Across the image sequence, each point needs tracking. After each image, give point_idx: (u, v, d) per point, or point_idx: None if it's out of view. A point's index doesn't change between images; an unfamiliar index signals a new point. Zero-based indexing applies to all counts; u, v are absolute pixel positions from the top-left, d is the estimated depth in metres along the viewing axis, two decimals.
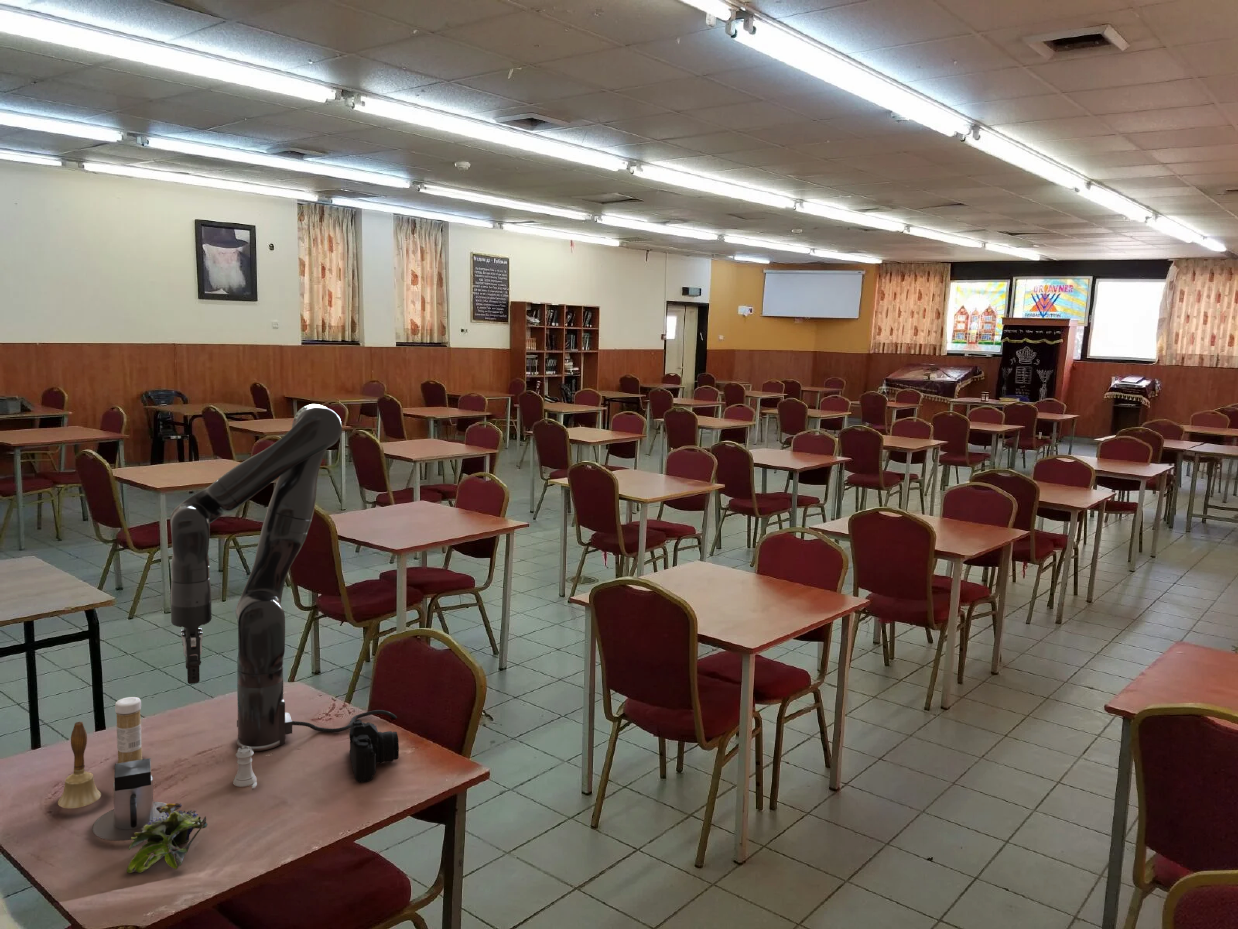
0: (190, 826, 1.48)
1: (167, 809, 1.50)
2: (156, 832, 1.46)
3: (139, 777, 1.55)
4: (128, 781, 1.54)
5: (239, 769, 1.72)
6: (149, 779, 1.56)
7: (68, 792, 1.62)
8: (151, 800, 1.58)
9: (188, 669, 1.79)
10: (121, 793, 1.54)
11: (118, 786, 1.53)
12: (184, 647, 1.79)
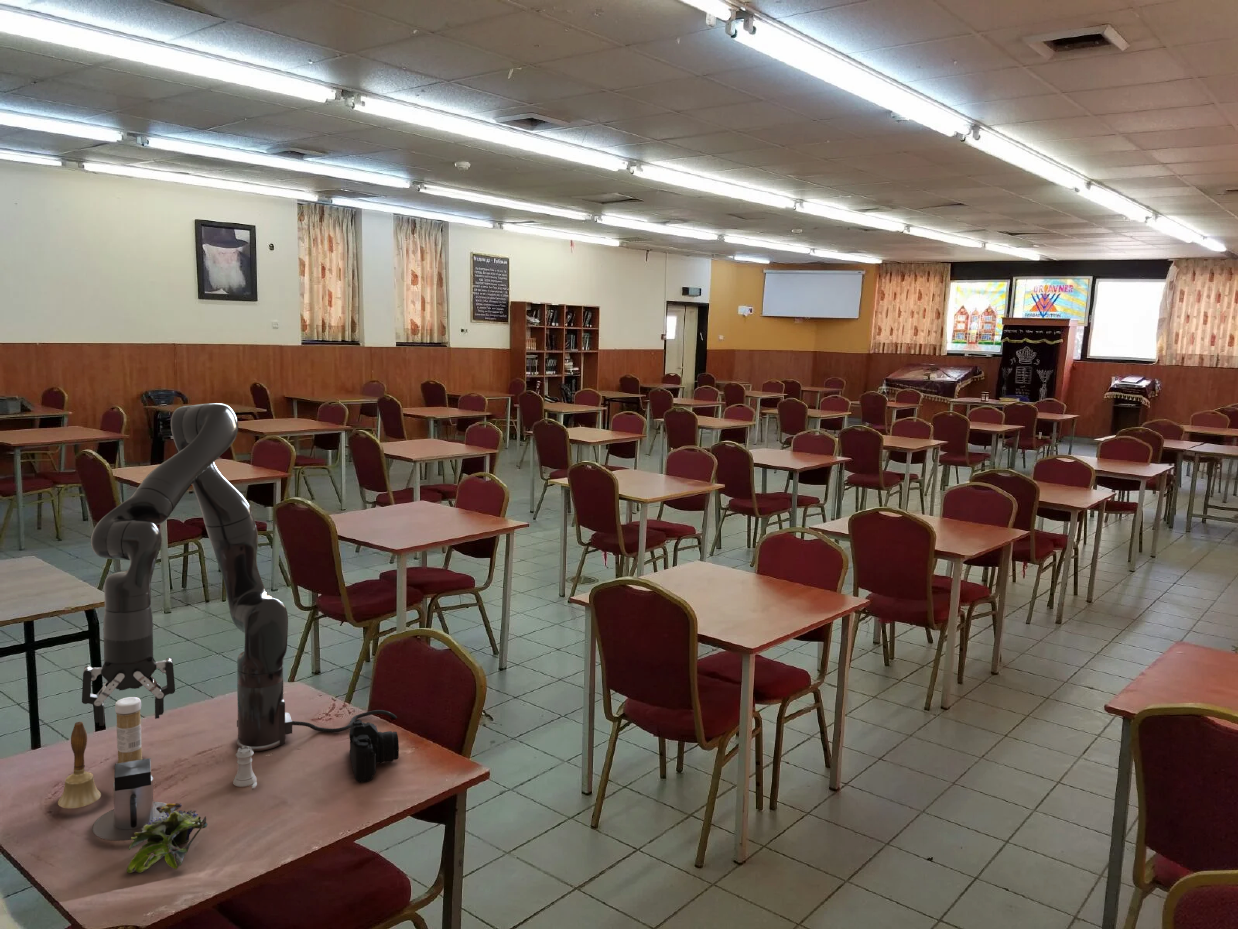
0: (190, 826, 1.48)
1: (167, 809, 1.50)
2: (156, 832, 1.46)
3: (139, 777, 1.55)
4: (128, 781, 1.54)
5: (239, 769, 1.72)
6: (149, 779, 1.56)
7: (68, 792, 1.62)
8: (151, 800, 1.58)
9: None
10: (121, 793, 1.54)
11: (118, 786, 1.53)
12: None
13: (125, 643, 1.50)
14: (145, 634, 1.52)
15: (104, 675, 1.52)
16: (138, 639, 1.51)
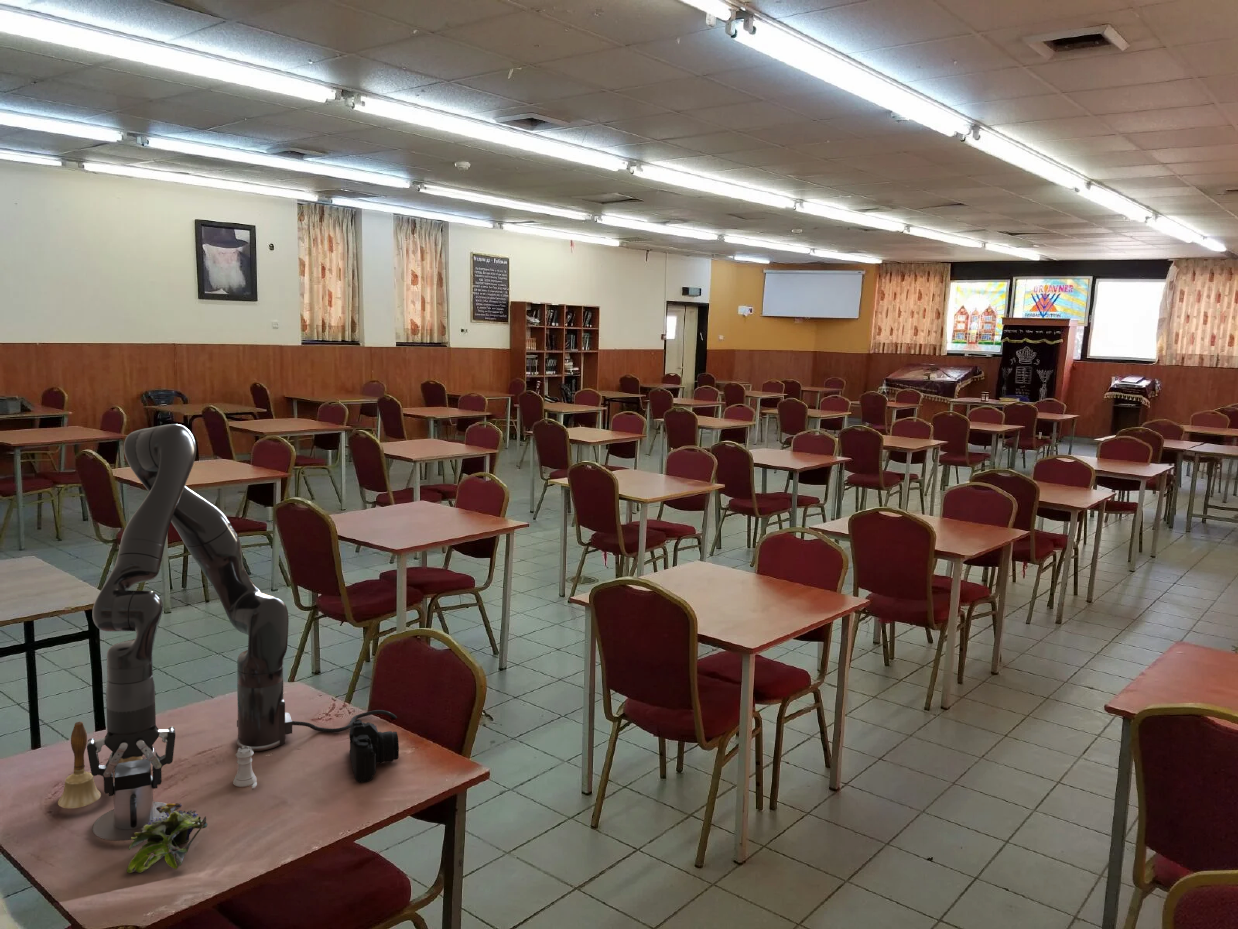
0: (190, 826, 1.48)
1: (167, 809, 1.50)
2: (156, 832, 1.46)
3: (139, 777, 1.55)
4: (128, 781, 1.54)
5: (239, 769, 1.72)
6: (149, 779, 1.56)
7: (68, 792, 1.62)
8: (151, 800, 1.58)
9: None
10: (121, 793, 1.54)
11: (118, 786, 1.53)
12: None
13: (128, 714, 1.52)
14: (147, 704, 1.54)
15: (107, 745, 1.53)
16: (141, 709, 1.53)
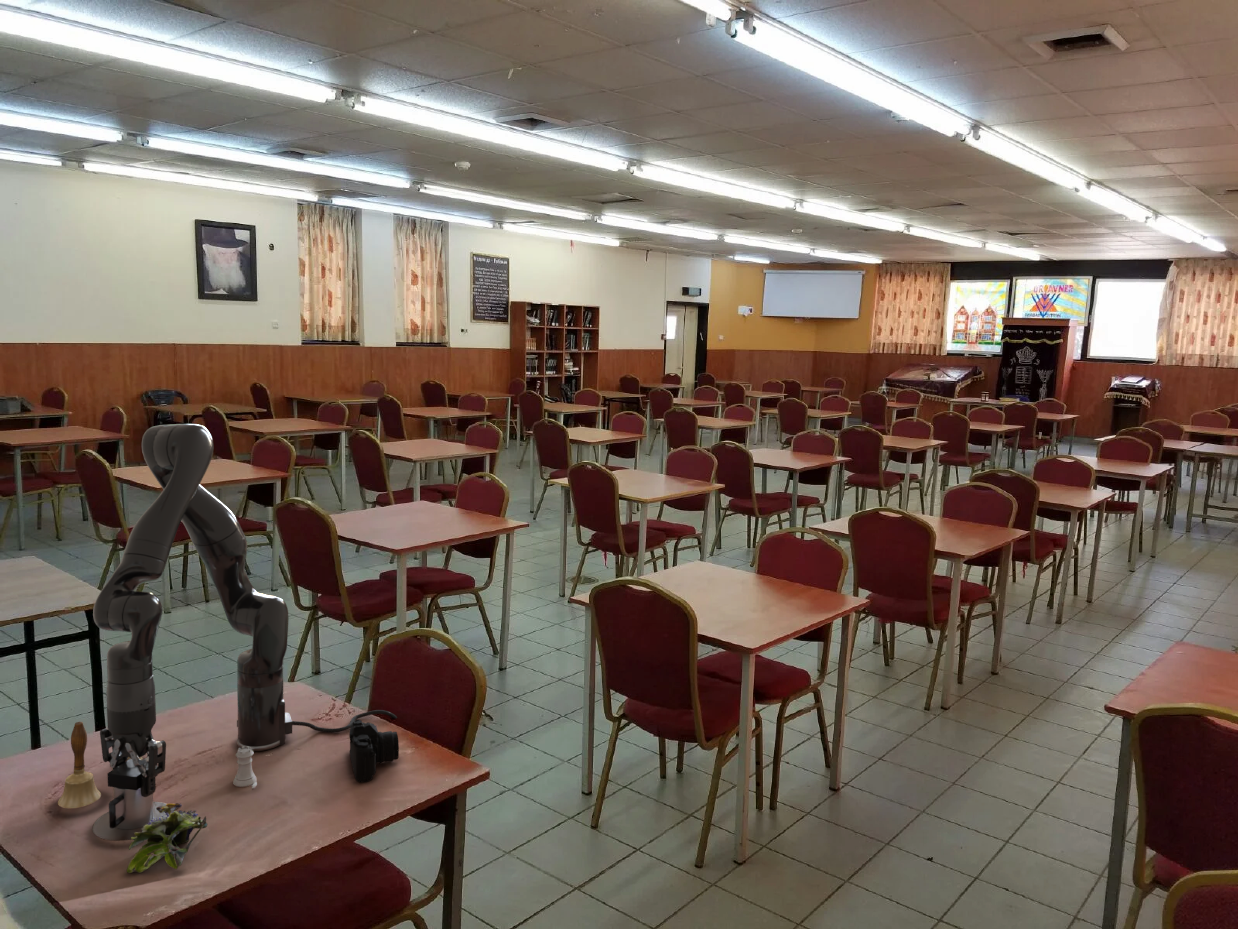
0: (190, 826, 1.48)
1: (167, 809, 1.50)
2: (156, 832, 1.46)
3: (127, 779, 1.54)
4: (118, 780, 1.54)
5: (239, 769, 1.72)
6: (135, 784, 1.54)
7: (68, 792, 1.62)
8: (143, 805, 1.56)
9: None
10: (114, 790, 1.55)
11: (110, 782, 1.55)
12: None
13: (110, 713, 1.52)
14: (128, 709, 1.52)
15: (112, 737, 1.57)
16: (120, 712, 1.51)
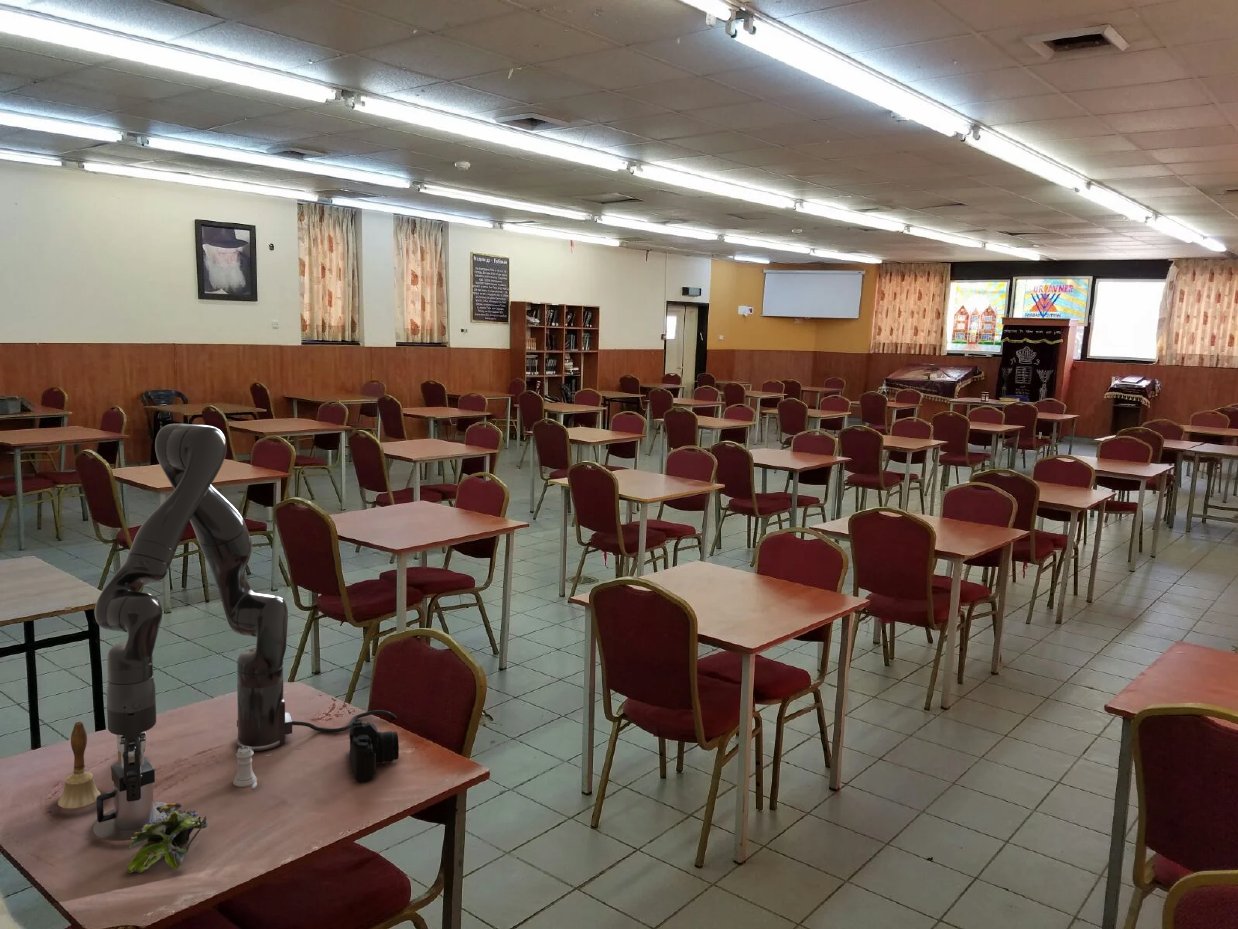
0: (190, 826, 1.48)
1: (167, 809, 1.50)
2: (156, 832, 1.46)
3: (116, 778, 1.54)
4: (114, 776, 1.55)
5: (239, 769, 1.72)
6: (119, 785, 1.53)
7: (68, 792, 1.62)
8: (130, 809, 1.55)
9: None
10: None
11: (112, 776, 1.57)
12: None
13: None
14: (113, 709, 1.52)
15: None
16: (108, 710, 1.52)
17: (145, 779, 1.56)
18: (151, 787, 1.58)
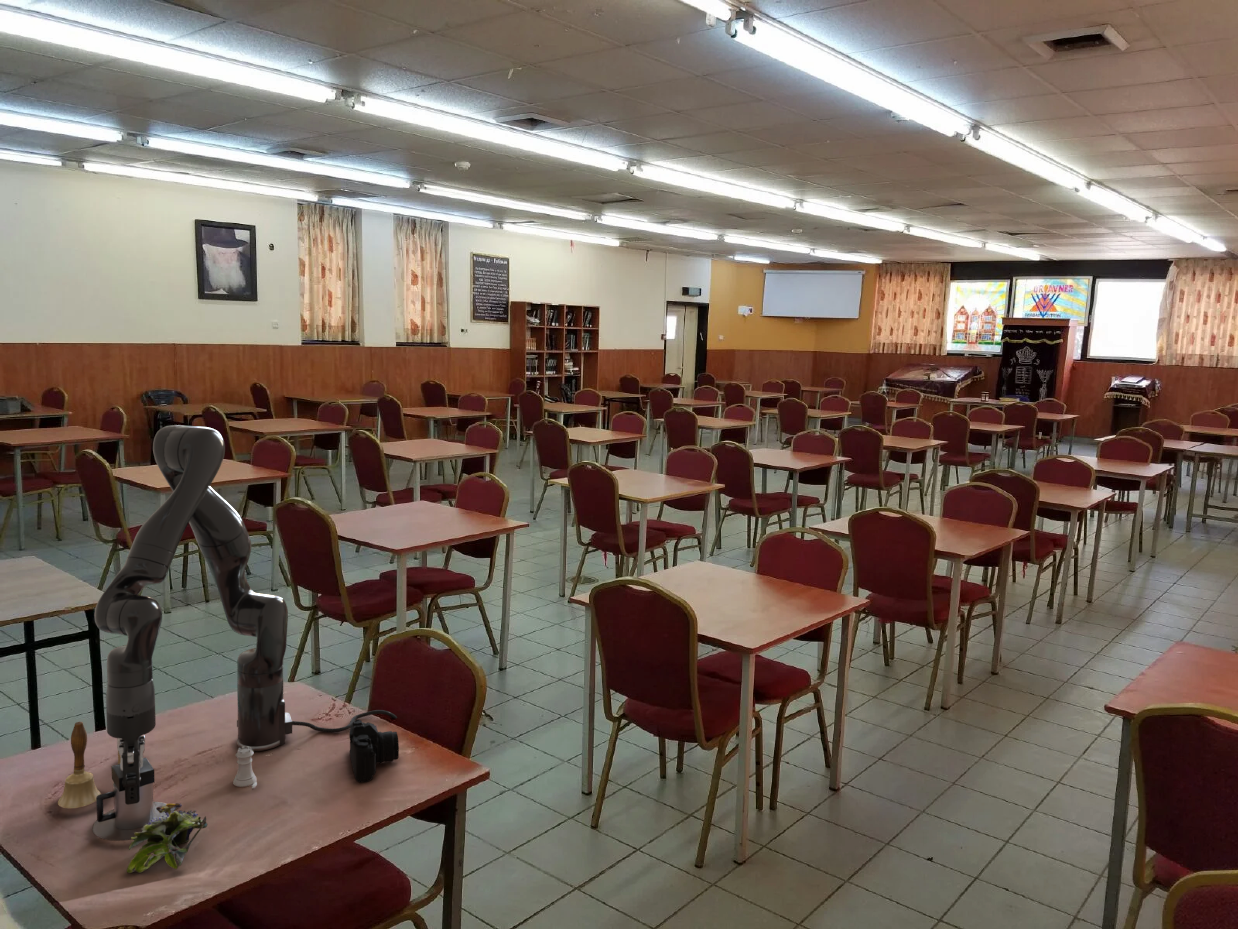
0: (190, 826, 1.48)
1: (167, 809, 1.50)
2: (156, 832, 1.46)
3: (116, 778, 1.54)
4: (114, 776, 1.55)
5: (239, 769, 1.72)
6: (118, 785, 1.53)
7: (68, 792, 1.62)
8: (129, 809, 1.55)
9: None
10: None
11: (112, 776, 1.57)
12: None
13: (106, 711, 1.54)
14: (112, 712, 1.52)
15: None
16: (108, 713, 1.52)
17: (144, 780, 1.56)
18: (151, 787, 1.58)
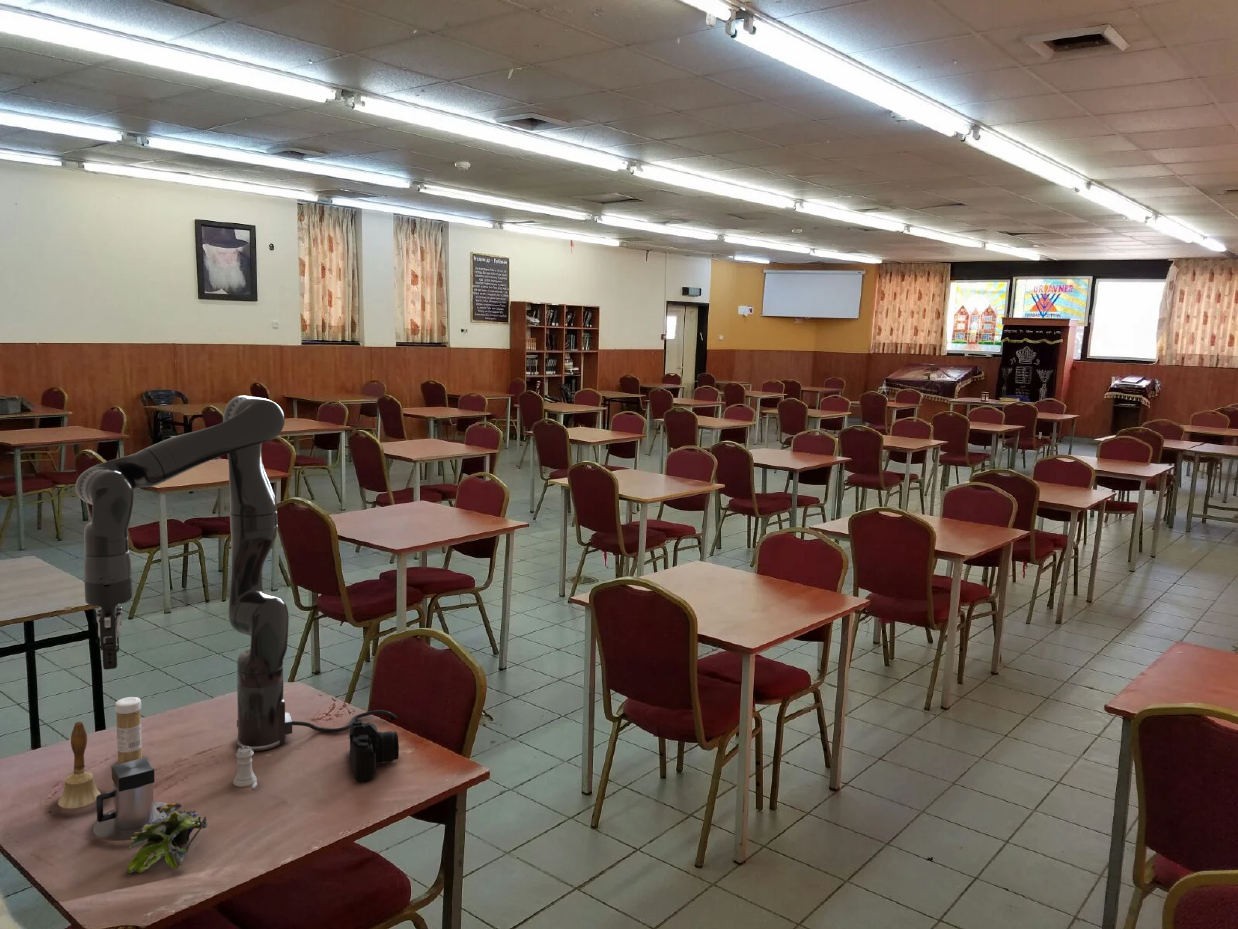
0: (190, 826, 1.48)
1: (167, 809, 1.50)
2: (156, 832, 1.46)
3: (116, 778, 1.54)
4: (114, 776, 1.55)
5: (239, 769, 1.72)
6: (118, 785, 1.53)
7: (68, 792, 1.62)
8: (129, 809, 1.55)
9: None
10: None
11: (112, 776, 1.57)
12: None
13: None
14: (90, 580, 1.58)
15: None
16: (86, 582, 1.59)
17: (144, 780, 1.56)
18: (151, 787, 1.58)
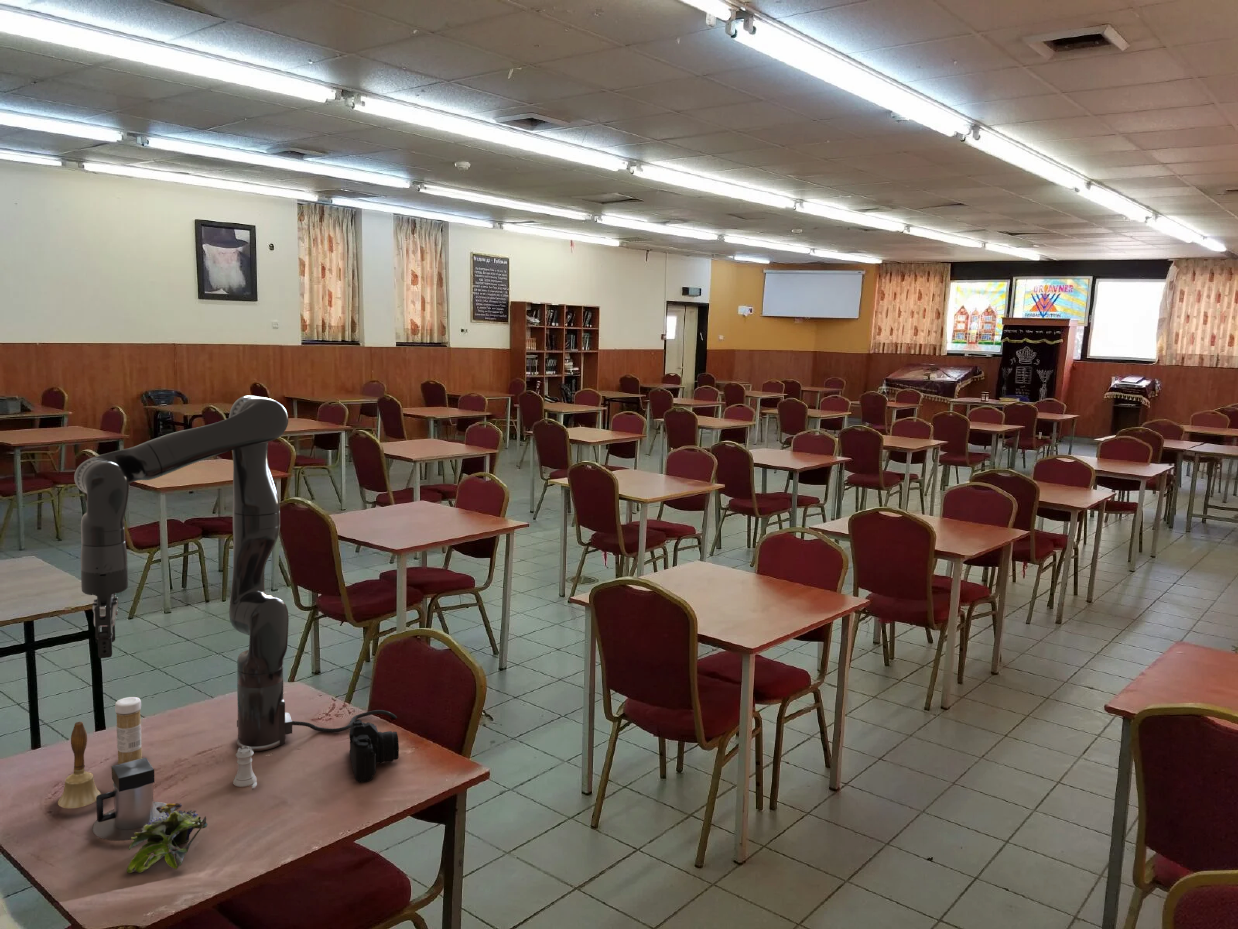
0: (190, 826, 1.48)
1: (167, 809, 1.50)
2: (156, 832, 1.46)
3: (116, 778, 1.54)
4: (114, 776, 1.55)
5: (239, 769, 1.72)
6: (118, 785, 1.53)
7: (68, 792, 1.62)
8: (129, 809, 1.55)
9: None
10: None
11: (112, 776, 1.57)
12: None
13: None
14: (86, 569, 1.61)
15: None
16: (82, 571, 1.61)
17: (144, 780, 1.56)
18: (151, 787, 1.58)
